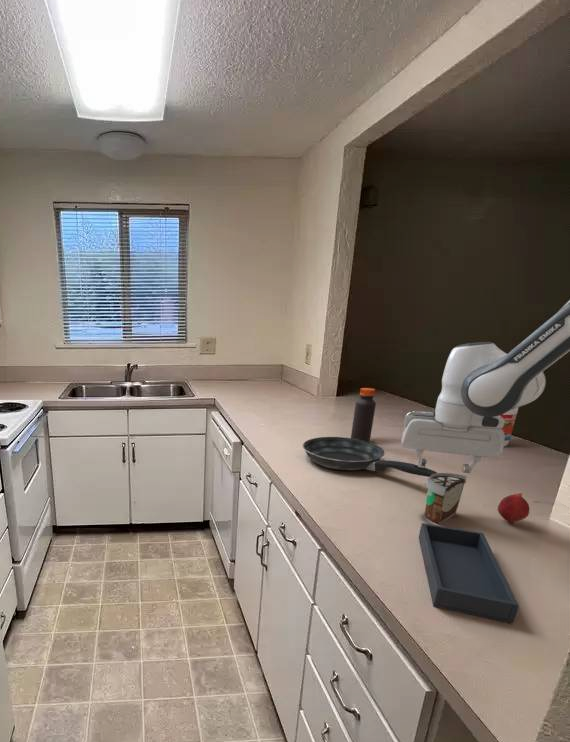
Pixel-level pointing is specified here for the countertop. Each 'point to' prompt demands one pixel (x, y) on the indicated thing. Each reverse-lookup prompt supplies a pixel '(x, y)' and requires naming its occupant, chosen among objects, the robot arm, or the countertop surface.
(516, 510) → the onion
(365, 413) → the bottle
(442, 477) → the food container
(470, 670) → the countertop surface
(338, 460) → the frying pan
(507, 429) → the fruit juice
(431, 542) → the dark blue tray
